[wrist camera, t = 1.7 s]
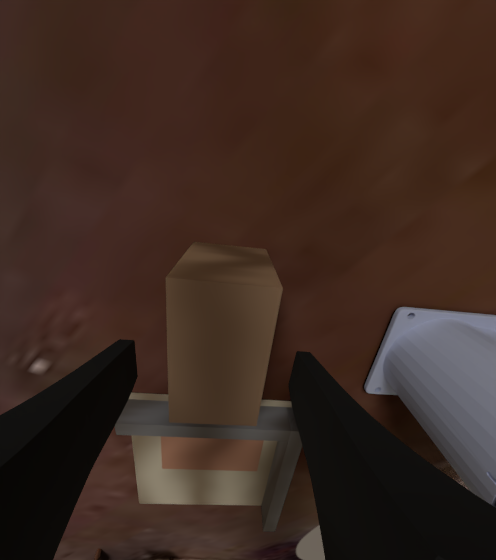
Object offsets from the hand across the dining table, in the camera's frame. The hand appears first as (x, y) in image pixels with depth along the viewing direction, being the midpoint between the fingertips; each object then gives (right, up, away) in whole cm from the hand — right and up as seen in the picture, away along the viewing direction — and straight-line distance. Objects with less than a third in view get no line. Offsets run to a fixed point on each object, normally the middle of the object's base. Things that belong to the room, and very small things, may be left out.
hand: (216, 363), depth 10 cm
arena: (-2, -13, +12) cm, 18 cm away
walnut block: (0, +2, +6) cm, 6 cm away
